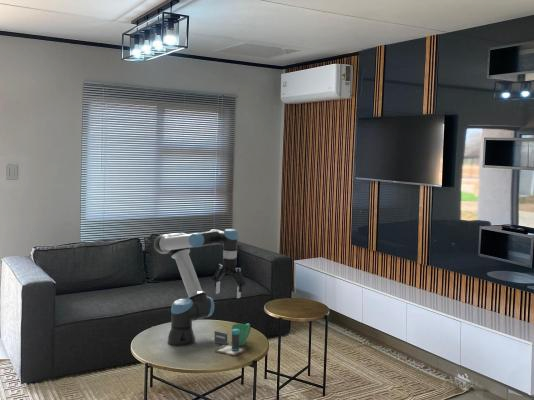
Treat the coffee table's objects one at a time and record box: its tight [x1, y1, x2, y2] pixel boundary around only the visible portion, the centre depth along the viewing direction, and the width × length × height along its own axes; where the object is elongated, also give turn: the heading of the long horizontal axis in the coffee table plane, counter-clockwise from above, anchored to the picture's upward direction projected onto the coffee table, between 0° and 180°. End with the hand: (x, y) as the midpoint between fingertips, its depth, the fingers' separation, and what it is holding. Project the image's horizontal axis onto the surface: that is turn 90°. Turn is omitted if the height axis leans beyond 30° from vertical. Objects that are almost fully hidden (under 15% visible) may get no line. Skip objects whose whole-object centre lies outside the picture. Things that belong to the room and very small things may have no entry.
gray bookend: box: [212, 330, 230, 345], centre depth 321 cm, size 8×3×6 cm, turn 62°
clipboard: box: [214, 344, 247, 358], centre depth 309 cm, size 13×11×1 cm
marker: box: [231, 328, 240, 351], centre depth 308 cm, size 4×4×11 cm
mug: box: [231, 323, 252, 346], centre depth 322 cm, size 15×10×10 cm
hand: (228, 295), depth 312 cm, fingers open, 13 cm apart
